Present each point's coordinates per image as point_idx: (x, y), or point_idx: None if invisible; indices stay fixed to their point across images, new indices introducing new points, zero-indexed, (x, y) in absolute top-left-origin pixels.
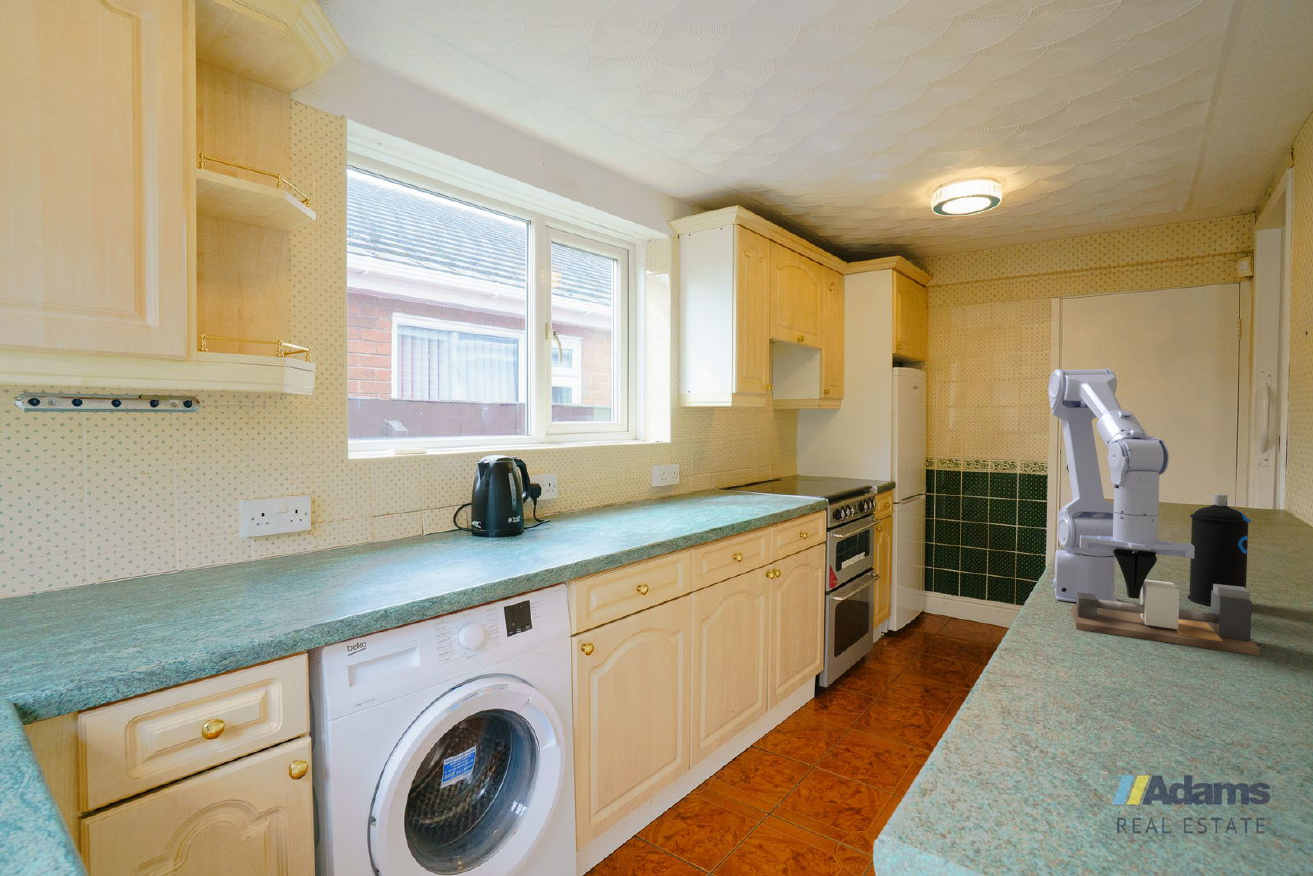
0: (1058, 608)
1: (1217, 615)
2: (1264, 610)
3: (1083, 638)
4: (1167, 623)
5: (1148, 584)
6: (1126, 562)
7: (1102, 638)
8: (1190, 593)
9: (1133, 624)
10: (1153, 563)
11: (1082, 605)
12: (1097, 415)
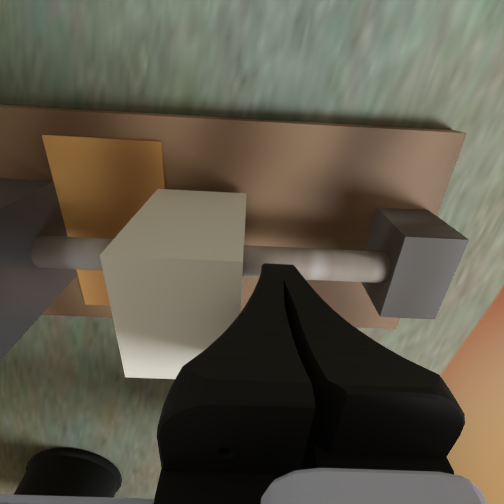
0: (416, 323)
1: (20, 231)
2: (2, 461)
3: (478, 5)
4: (184, 196)
5: (226, 303)
6: (376, 365)
7: (402, 48)
8: (113, 488)
9: (276, 204)
10: (194, 366)
11: (439, 227)
12: None
